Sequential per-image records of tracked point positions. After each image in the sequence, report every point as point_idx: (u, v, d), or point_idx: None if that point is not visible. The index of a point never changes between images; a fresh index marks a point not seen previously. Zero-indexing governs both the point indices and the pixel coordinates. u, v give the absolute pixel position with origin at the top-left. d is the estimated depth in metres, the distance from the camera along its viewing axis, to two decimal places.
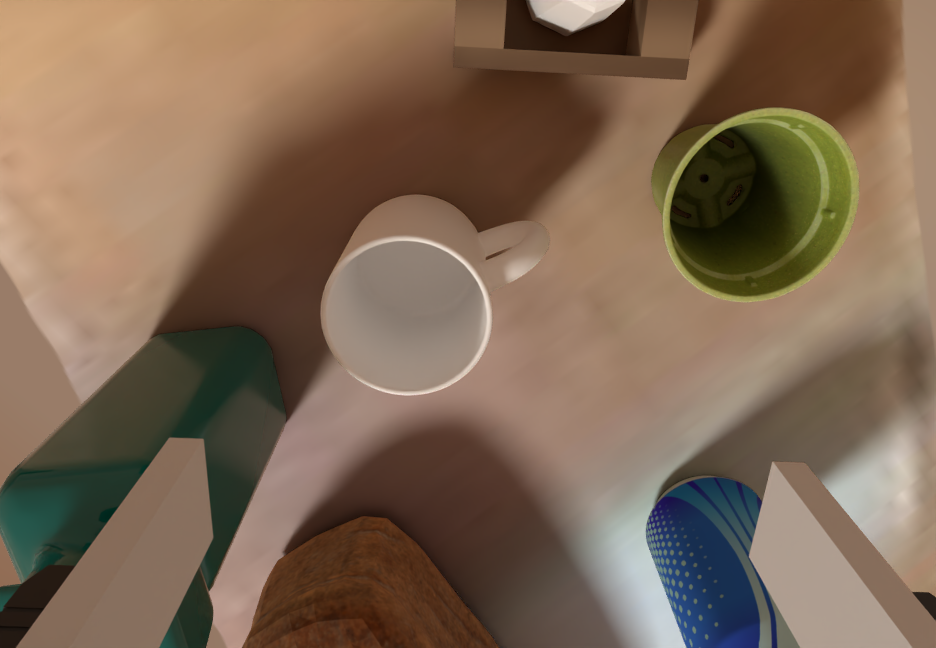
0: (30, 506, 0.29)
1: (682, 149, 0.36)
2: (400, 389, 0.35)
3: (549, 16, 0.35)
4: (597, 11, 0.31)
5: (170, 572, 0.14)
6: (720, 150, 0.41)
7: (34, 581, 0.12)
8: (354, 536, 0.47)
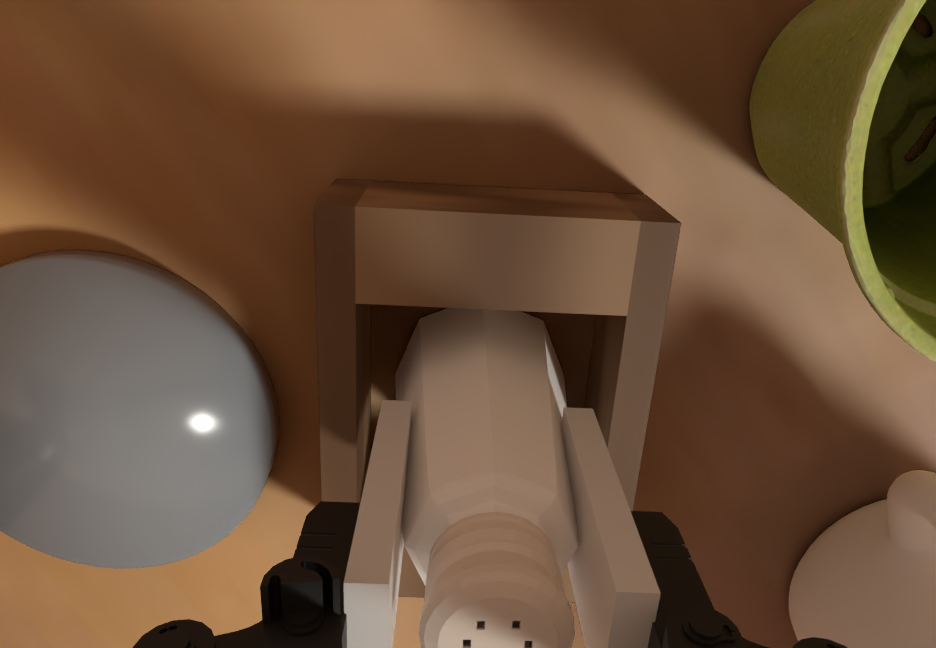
0: None
1: None
2: None
3: None
4: (574, 541, 0.15)
5: None
6: None
7: (315, 513, 0.14)
8: None
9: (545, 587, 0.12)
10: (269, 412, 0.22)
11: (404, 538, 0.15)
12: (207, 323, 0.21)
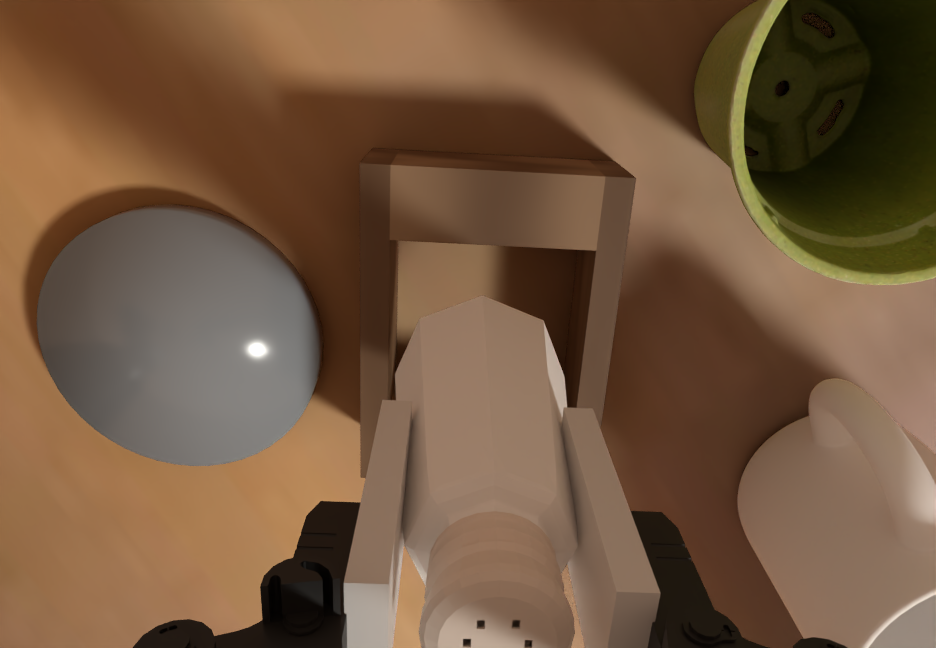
0: None
1: None
2: None
3: None
4: (574, 540, 0.15)
5: None
6: None
7: (315, 514, 0.14)
8: None
9: (545, 586, 0.12)
10: (317, 335, 0.28)
11: (404, 537, 0.15)
12: (271, 262, 0.27)
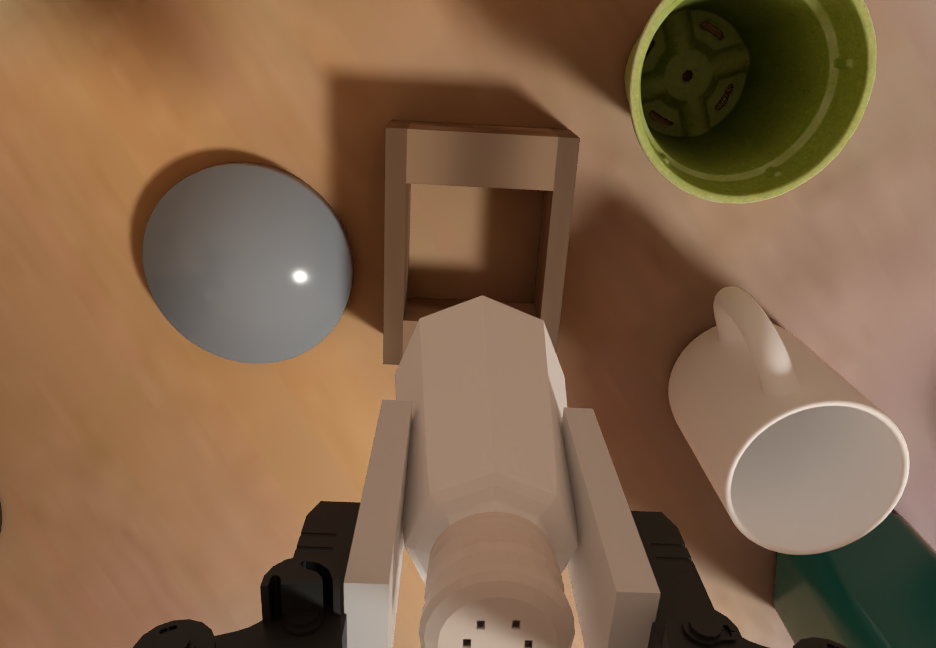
0: None
1: None
2: (897, 487, 0.32)
3: None
4: (574, 540, 0.15)
5: None
6: (655, 57, 0.34)
7: (316, 514, 0.14)
8: None
9: (546, 586, 0.12)
10: (350, 260, 0.37)
11: (404, 538, 0.15)
12: (317, 204, 0.36)
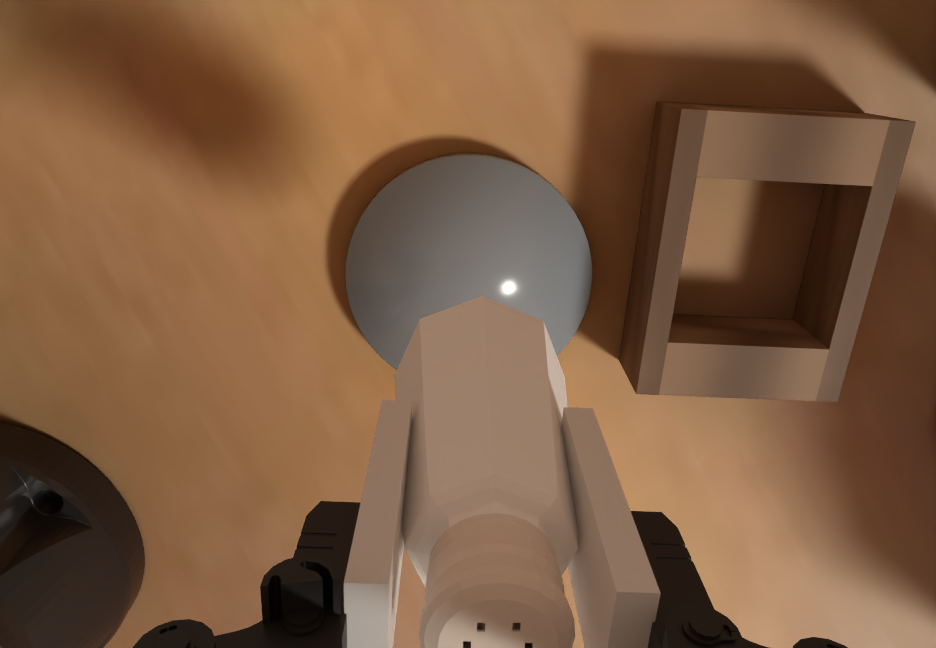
0: None
1: None
2: None
3: None
4: (575, 542, 0.15)
5: None
6: None
7: (316, 514, 0.14)
8: None
9: (545, 589, 0.12)
10: (591, 270, 0.31)
11: (404, 539, 0.15)
12: (562, 203, 0.30)
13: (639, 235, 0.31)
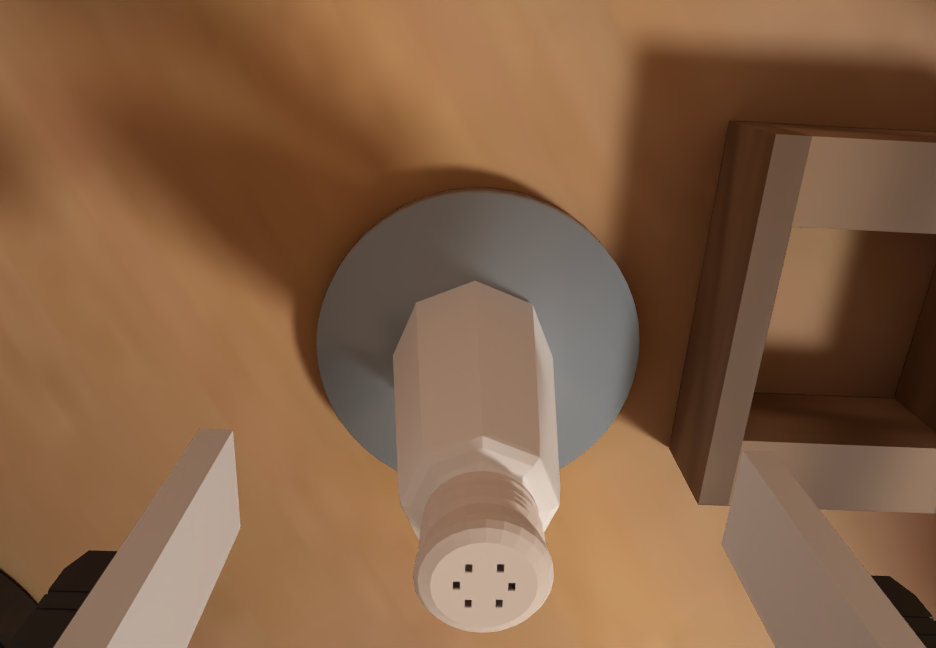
0: None
1: None
2: None
3: None
4: (556, 500, 0.16)
5: (203, 559, 0.14)
6: None
7: (76, 566, 0.13)
8: None
9: (526, 534, 0.14)
10: (638, 339, 0.24)
11: (400, 497, 0.16)
12: (602, 254, 0.23)
13: (701, 294, 0.24)
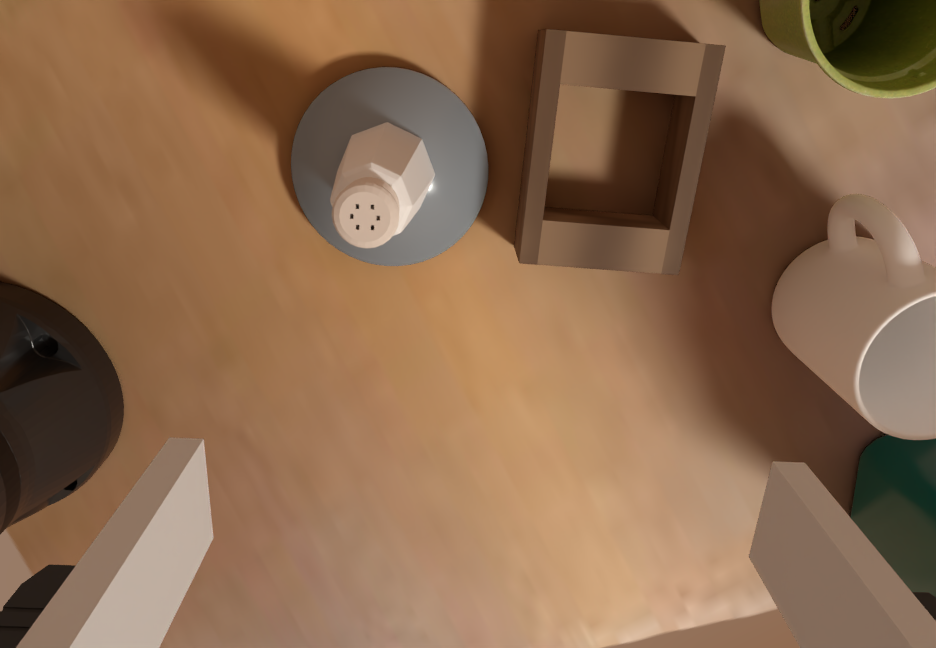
0: None
1: (802, 51, 0.34)
2: None
3: (416, 210, 0.37)
4: (410, 202, 0.32)
5: (170, 572, 0.14)
6: None
7: (34, 581, 0.12)
8: None
9: (385, 190, 0.29)
10: None
11: (330, 199, 0.32)
12: (463, 108, 0.38)
13: (526, 139, 0.40)
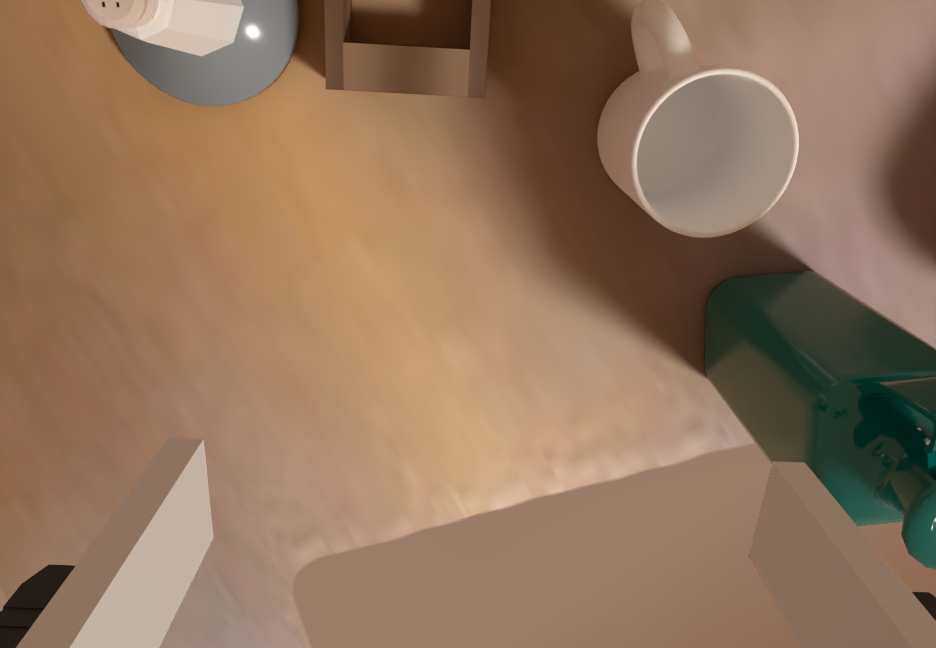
0: (836, 498, 0.34)
1: None
2: (789, 165, 0.35)
3: (213, 31, 0.38)
4: None
5: (170, 572, 0.14)
6: None
7: (34, 581, 0.12)
8: None
9: None
10: None
11: None
12: None
13: None
